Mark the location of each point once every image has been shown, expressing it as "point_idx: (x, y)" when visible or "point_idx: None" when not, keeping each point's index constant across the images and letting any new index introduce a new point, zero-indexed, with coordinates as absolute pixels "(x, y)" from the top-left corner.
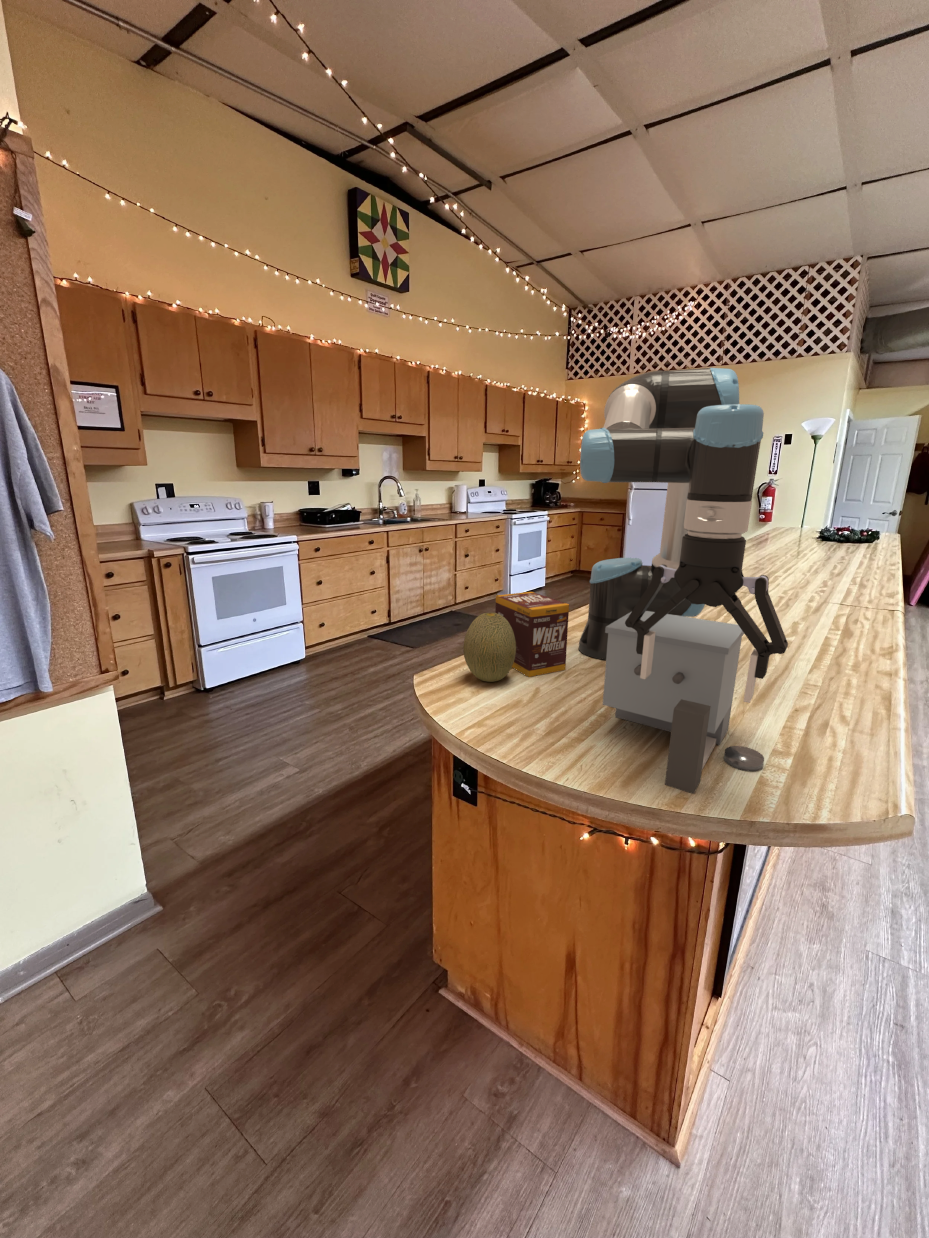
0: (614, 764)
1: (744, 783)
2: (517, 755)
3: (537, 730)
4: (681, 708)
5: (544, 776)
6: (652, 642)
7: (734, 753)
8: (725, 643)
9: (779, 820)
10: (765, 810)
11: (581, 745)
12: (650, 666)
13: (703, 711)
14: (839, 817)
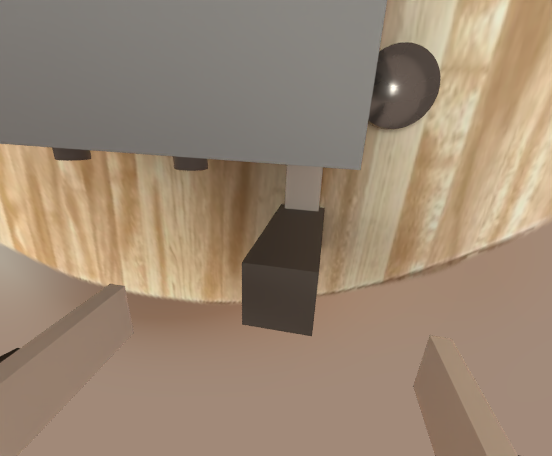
0: (203, 223)
1: (393, 177)
2: (99, 262)
3: (71, 181)
4: (256, 317)
5: (150, 291)
6: (5, 412)
7: (377, 95)
8: (323, 17)
9: (439, 259)
10: (421, 243)
11: (142, 192)
12: (104, 317)
13: (306, 313)
14: (544, 208)
